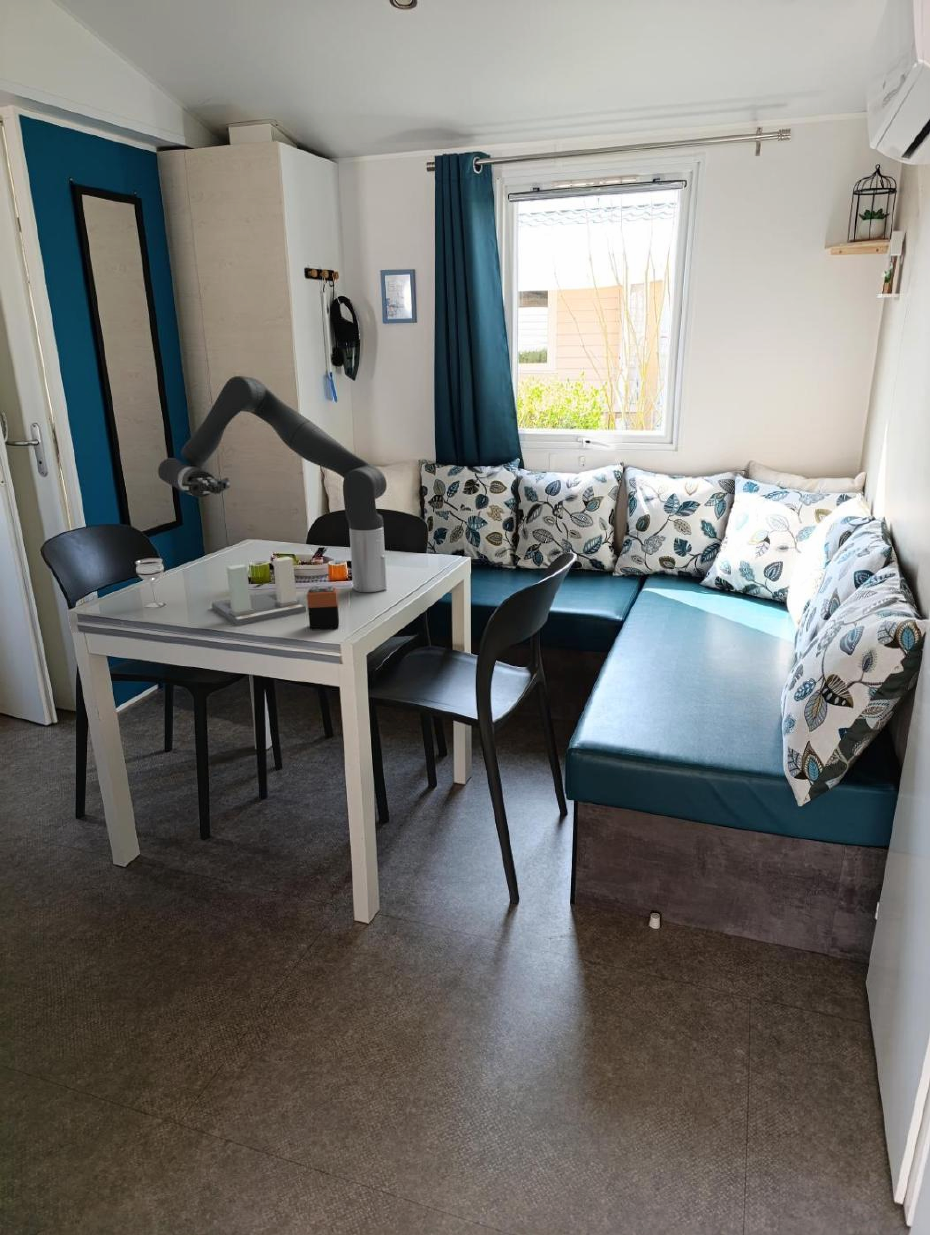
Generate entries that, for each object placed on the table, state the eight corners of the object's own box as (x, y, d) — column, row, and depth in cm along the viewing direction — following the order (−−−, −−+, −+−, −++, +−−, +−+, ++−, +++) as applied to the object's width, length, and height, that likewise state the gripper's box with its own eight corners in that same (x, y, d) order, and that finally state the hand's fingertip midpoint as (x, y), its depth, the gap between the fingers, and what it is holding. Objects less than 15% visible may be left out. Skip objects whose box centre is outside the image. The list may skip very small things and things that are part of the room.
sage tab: (229, 612, 203) (223, 566, 199) (248, 608, 206) (243, 563, 202) (234, 616, 200) (229, 569, 196) (254, 612, 203) (249, 566, 199)
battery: (310, 624, 198) (307, 585, 195) (339, 623, 199) (336, 583, 196) (309, 630, 194) (306, 590, 191) (338, 629, 195) (335, 588, 191)
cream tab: (274, 603, 210) (270, 558, 206) (293, 600, 212) (289, 555, 209) (281, 607, 206) (276, 562, 203) (299, 603, 209) (295, 558, 205)
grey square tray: (212, 608, 212) (211, 602, 212) (277, 595, 222) (277, 590, 221) (237, 625, 198) (236, 619, 198) (305, 611, 208) (305, 605, 207)
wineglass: (174, 603, 217) (168, 559, 213) (153, 610, 211) (146, 565, 207) (157, 600, 220) (150, 556, 216) (135, 607, 214) (129, 562, 211)
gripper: (169, 470, 216) (189, 477, 202) (218, 465, 223) (241, 472, 209) (172, 498, 218) (193, 507, 205) (221, 492, 225) (244, 501, 212)
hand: (217, 489), depth 207 cm, fingers closed
